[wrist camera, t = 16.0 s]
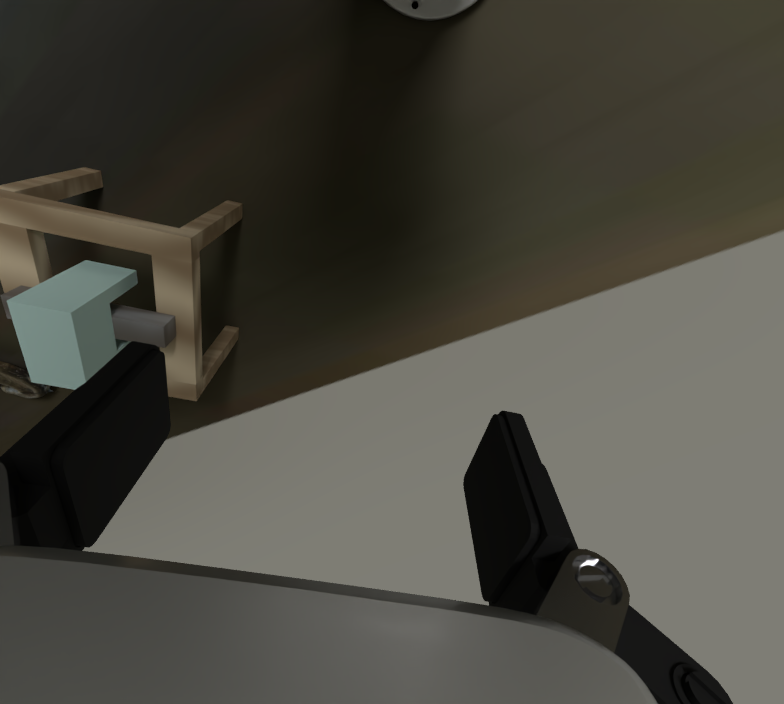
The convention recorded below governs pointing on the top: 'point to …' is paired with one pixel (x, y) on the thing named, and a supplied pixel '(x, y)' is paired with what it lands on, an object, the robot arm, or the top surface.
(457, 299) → the top surface
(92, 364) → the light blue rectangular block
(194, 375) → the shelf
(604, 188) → the top surface
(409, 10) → the robot arm
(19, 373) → the pulley block
